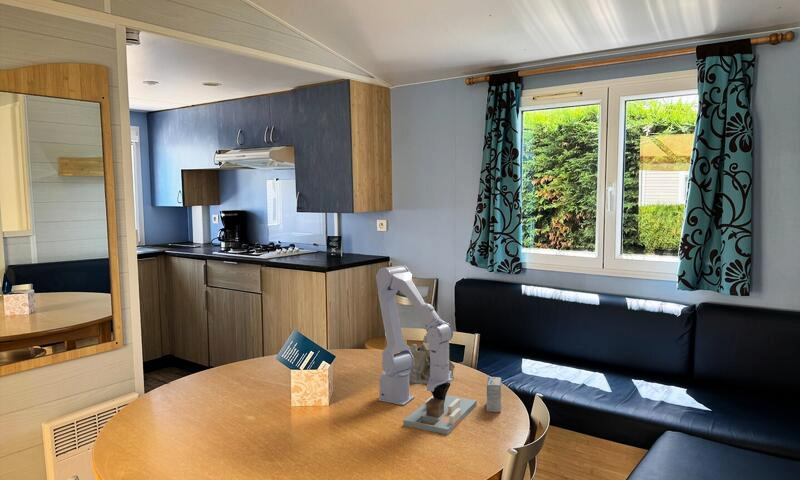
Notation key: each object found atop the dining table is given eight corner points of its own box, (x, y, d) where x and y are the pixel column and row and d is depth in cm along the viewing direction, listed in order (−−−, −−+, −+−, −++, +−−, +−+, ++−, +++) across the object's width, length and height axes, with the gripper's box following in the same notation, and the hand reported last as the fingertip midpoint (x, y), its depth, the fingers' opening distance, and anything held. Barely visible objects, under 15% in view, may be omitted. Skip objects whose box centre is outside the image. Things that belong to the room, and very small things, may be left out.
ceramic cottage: (397, 377, 205) (400, 337, 203) (431, 369, 215) (434, 332, 213) (425, 391, 193) (428, 349, 191) (459, 383, 203) (462, 343, 201)
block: (426, 415, 166) (426, 402, 166) (431, 410, 170) (431, 397, 170) (438, 417, 165) (438, 404, 164) (443, 412, 168) (443, 400, 168)
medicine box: (500, 412, 172) (501, 385, 171) (486, 411, 173) (486, 384, 172) (501, 403, 180) (501, 377, 179) (487, 402, 181) (487, 376, 180)
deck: (403, 425, 163) (403, 412, 163) (436, 398, 185) (436, 386, 184) (447, 434, 157) (447, 421, 157) (476, 405, 178) (476, 393, 178)
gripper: (442, 372, 161) (442, 417, 162) (460, 358, 174) (460, 400, 175) (420, 368, 164) (420, 413, 165) (439, 355, 177) (439, 397, 178)
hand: (439, 406), depth 170 cm, fingers closed
